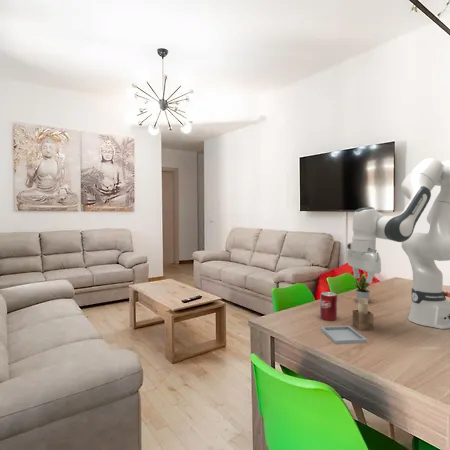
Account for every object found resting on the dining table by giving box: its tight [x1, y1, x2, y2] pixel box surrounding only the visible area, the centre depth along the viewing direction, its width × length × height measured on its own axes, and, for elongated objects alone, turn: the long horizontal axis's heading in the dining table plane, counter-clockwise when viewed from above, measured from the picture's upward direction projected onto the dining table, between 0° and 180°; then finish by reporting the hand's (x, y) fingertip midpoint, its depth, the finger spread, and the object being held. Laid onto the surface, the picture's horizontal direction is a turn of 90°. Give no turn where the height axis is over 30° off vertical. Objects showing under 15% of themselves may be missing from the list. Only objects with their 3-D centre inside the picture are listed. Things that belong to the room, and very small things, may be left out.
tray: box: [320, 325, 368, 345], centre depth 124 cm, size 12×14×2 cm
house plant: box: [351, 271, 375, 302], centre depth 170 cm, size 14×14×16 cm
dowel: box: [357, 298, 369, 314], centre depth 132 cm, size 4×4×12 cm
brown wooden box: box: [351, 309, 374, 332], centre depth 132 cm, size 6×6×8 cm
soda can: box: [319, 291, 338, 322], centre depth 144 cm, size 7×7×12 cm
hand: (362, 280), depth 131 cm, fingers open, 8 cm apart
